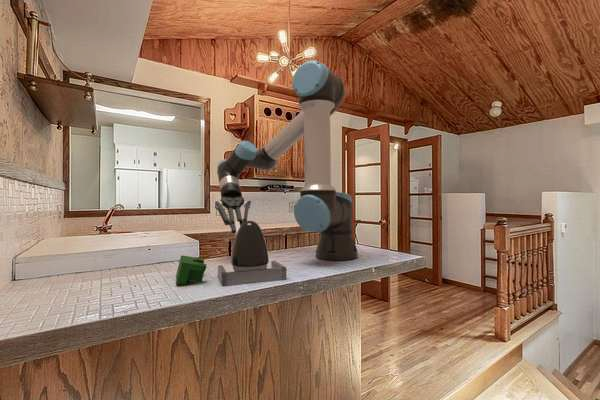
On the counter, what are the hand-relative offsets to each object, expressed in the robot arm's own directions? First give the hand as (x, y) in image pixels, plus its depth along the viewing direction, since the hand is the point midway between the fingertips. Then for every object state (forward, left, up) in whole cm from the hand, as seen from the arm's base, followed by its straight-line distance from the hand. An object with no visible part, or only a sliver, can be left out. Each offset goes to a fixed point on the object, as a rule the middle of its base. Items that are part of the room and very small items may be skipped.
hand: (239, 239), depth 97 cm
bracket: (0, +18, -8) cm, 20 cm away
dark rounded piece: (0, +16, -9) cm, 18 cm away
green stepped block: (+15, +14, -9) cm, 22 cm away
